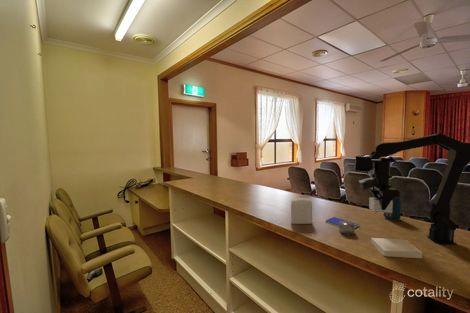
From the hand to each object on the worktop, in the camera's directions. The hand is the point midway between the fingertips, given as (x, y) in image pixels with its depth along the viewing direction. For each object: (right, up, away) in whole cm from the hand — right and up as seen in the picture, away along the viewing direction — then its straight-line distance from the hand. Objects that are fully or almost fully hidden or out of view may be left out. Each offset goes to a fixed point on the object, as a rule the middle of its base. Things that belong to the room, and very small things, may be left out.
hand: (380, 208), depth 95 cm
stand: (-4, -12, -14) cm, 19 cm away
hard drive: (-11, -11, +11) cm, 19 cm away
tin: (-14, -11, +1) cm, 18 cm away
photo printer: (-30, -11, +13) cm, 35 cm away
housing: (0, -1, 0) cm, 1 cm away
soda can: (+17, -10, +17) cm, 26 cm away
